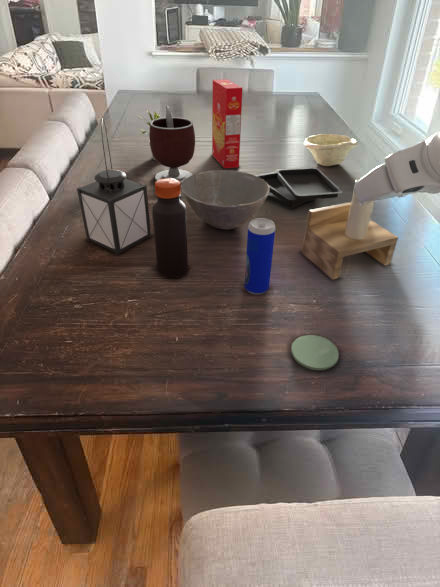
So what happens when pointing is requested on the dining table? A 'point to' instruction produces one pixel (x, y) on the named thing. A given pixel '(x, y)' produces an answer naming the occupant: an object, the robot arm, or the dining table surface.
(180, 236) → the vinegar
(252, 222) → the beverage can
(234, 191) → the ceramic bowl
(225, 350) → the dining table surface
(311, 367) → the coaster
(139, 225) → the lantern
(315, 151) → the bowl
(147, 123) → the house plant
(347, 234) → the cylinder
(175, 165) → the mate gourd
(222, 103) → the food packaging
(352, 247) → the wooden stand
